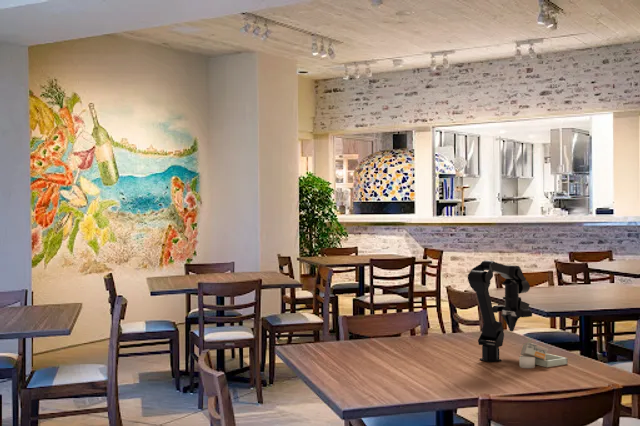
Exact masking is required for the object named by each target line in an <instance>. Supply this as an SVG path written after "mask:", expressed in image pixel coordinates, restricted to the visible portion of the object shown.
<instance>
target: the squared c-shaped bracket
mask: <svg viewBox="0 0 640 426" xmlns="http://www.w3.org/2000/svg"><path fill="white" fill-rule="evenodd" d="M536 365H537V366H540V367H544V368H550V367H556V366H557V367H558V366H564V365H565V366H566V365H568V357H564V356H561V355H560V356H559V355H555V354H551V353H547V354H546V358H545V360H542V359H538V358H535V366H536Z"/></svg>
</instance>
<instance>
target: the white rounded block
mask: <svg viewBox="0 0 640 426" xmlns="http://www.w3.org/2000/svg"><path fill="white" fill-rule="evenodd" d="M518 361H519V366H518V367H519V368H522V369H534V368H536V364H535V357H534V356H529V355H519V359H518Z"/></svg>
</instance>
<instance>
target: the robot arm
mask: <svg viewBox="0 0 640 426" xmlns="http://www.w3.org/2000/svg"><path fill="white" fill-rule="evenodd" d="M494 273H495V274H499V275H500V277H502V278H504V279H505V280H504V281H503V282H502V285H503V286H504V296H502V300H504V305H503V304H499V305H493V304H492V299H491V296H490V291H489V288H490V286H491V280H492V279H493V277H494ZM526 278H527V277H526V276H524V273H523V270H522V269H521V267H520V266H519V265H511V264H504V263H503V264H502V263H499V262H495V261H494V260H483V261H481V262H480V263H479V264H478V265H476V266H474V267H473V268H472V269H471V271H470V272H468V274H467V282H468V283H469V286H470V289H472V290H473V291H474V292H475V293H476V297H477V302H478V305H479V309H480V314H481V318H482V320H483V324H482V327H481V334H480V335H479V338H478V339H477V343H478V345H479V346H481V348H482V349H481V350H482V352H481V357H480V358H479V360H480V361H484V362H487V363H494V362H495V363H496V362H501V361H502V359H500V348H501V347H502V346H503V343H504V338H505V333H504V326H503V322H501V321H498V320H496V314H497V313H498V312H502V314H501V317H502V318H503V319H504V321H505V323H506V325H507V328H508V330H509V332H514V331H515V327H516V325H517V322H518V321H519V319H520V318H530V317H533V311H532V310H531V309H529V307H530V303H528V302H526V301H522V297H521V296H520V294H524V293H528V292H529V291H530V289H531V285H530V282H529V281H527V279H526ZM499 347H500V348H499Z"/></svg>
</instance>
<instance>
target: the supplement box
mask: <svg viewBox="0 0 640 426" xmlns="http://www.w3.org/2000/svg"><path fill="white" fill-rule="evenodd" d="M548 350H549V348H547V347H544V346H541V345H539V344H536V343H532V342H529V341H528V342H525V343H523V344H522V348H521V351H520V356H522V355H529V356H534V357H535V358H538V359H542V360H546V354H548Z"/></svg>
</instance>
